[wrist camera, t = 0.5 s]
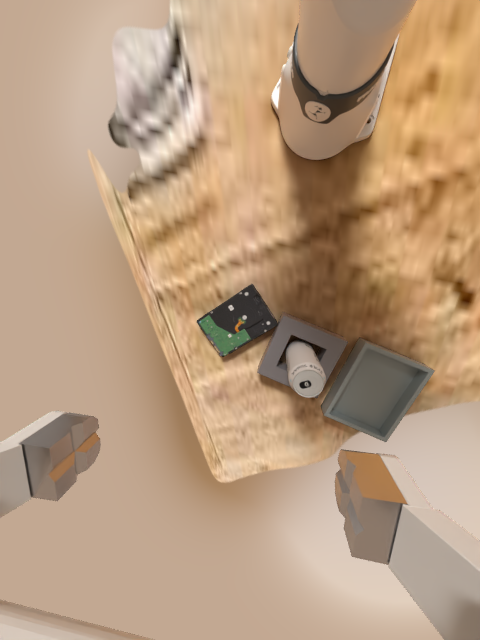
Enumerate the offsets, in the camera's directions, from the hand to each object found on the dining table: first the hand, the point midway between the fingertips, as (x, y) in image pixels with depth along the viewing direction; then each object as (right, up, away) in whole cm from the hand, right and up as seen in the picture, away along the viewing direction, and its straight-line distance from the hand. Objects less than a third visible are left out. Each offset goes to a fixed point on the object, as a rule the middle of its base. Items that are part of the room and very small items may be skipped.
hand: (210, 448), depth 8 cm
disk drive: (0, +4, +45) cm, 45 cm away
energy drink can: (+14, -3, +44) cm, 46 cm away
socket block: (+14, -3, +44) cm, 46 cm away
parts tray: (+29, -10, +43) cm, 53 cm away
